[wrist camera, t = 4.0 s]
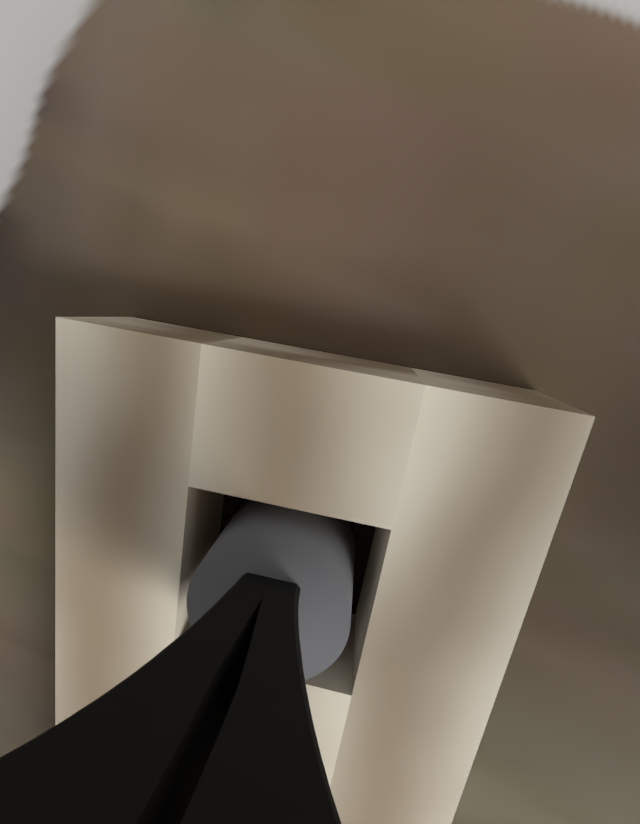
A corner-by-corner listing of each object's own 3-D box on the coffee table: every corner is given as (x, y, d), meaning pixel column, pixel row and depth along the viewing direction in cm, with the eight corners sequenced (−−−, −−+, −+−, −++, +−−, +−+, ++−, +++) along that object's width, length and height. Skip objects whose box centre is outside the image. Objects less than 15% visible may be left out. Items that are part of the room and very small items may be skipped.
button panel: (536, 390, 11) (595, 416, 8) (368, 932, 17) (367, 1058, 14) (131, 317, 12) (55, 317, 9) (105, 855, 18) (55, 958, 15)
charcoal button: (366, 500, 12) (365, 561, 9) (342, 613, 13) (334, 700, 10) (236, 473, 12) (193, 522, 9) (222, 585, 13) (180, 661, 10)
